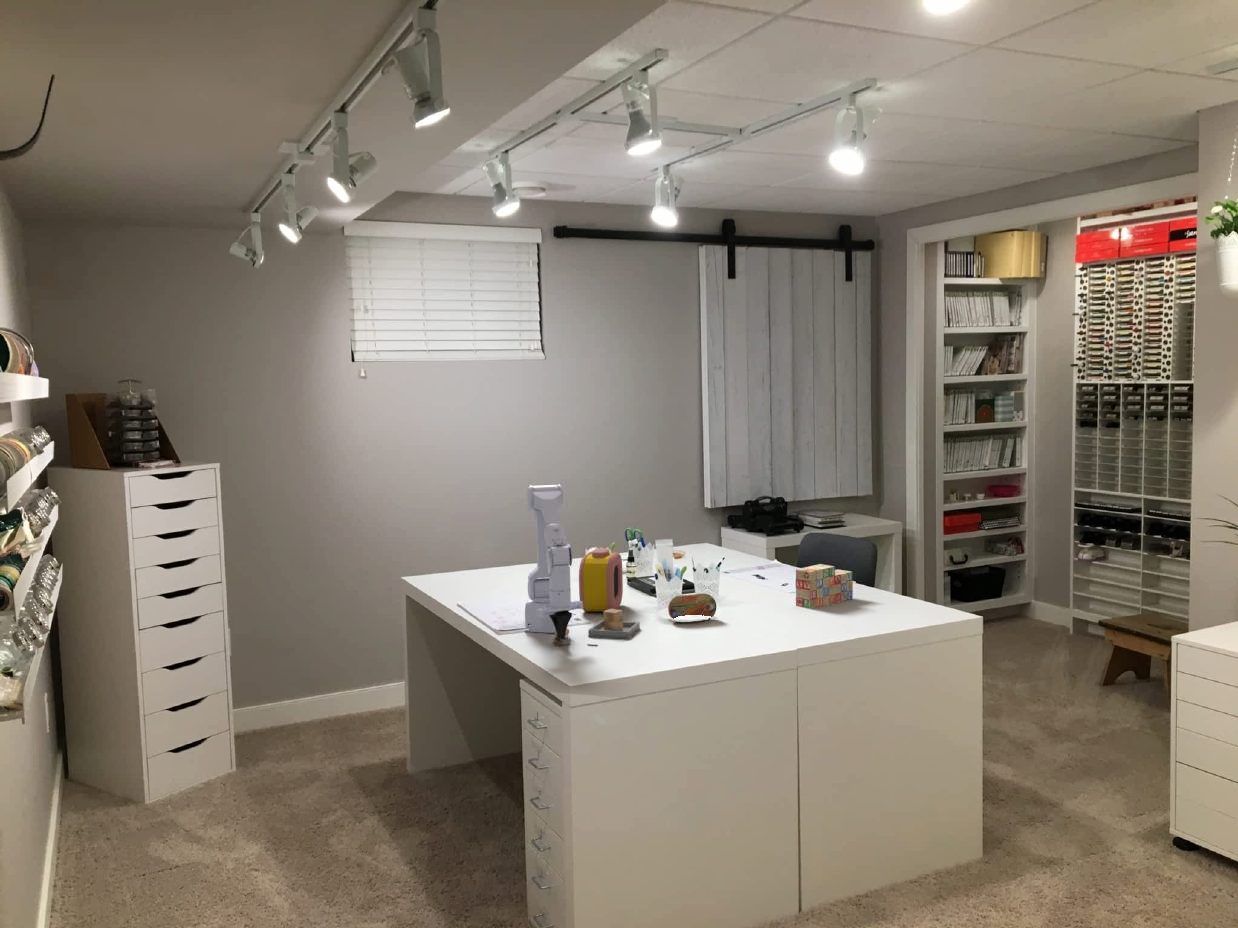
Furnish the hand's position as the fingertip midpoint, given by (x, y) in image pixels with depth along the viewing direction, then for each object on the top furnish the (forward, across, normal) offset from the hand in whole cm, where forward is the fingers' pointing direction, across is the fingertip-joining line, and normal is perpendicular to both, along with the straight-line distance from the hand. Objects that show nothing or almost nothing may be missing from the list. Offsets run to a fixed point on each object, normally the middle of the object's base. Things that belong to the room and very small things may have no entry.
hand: (561, 638), depth 276 cm
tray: (+3, +24, +4) cm, 24 cm away
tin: (+4, +50, -3) cm, 50 cm away
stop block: (+3, +23, +4) cm, 24 cm away
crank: (+2, +4, +4) cm, 6 cm away
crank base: (+4, +7, +3) cm, 8 cm away
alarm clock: (+4, +41, +30) cm, 51 cm away
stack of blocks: (+4, +98, -17) cm, 99 cm away
